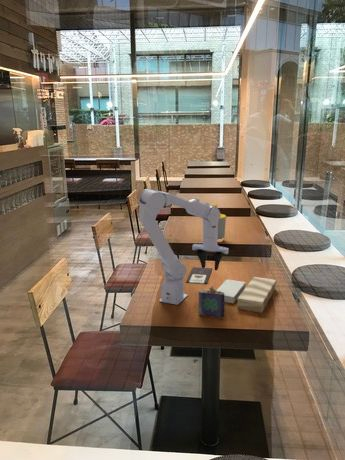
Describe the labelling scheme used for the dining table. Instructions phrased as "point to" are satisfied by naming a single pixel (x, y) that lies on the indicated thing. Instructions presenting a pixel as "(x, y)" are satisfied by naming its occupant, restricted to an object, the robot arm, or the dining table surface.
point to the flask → (211, 303)
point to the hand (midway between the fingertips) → (210, 268)
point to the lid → (231, 290)
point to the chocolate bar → (199, 275)
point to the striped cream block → (256, 294)
